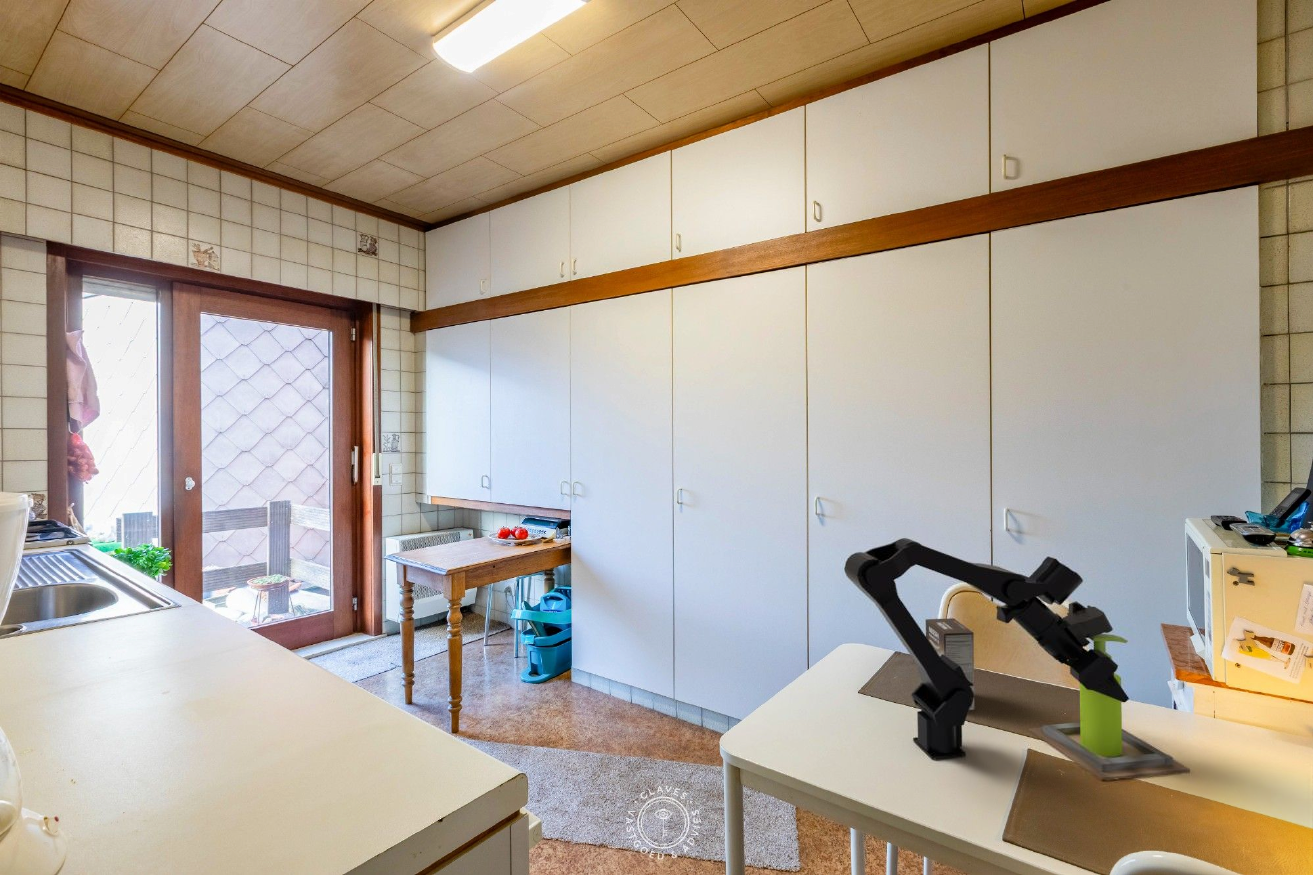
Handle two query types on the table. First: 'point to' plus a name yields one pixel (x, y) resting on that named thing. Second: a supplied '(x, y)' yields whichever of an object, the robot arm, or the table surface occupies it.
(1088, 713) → the soap dispenser
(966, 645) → the coffee box
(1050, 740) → the grey rectangular tray
